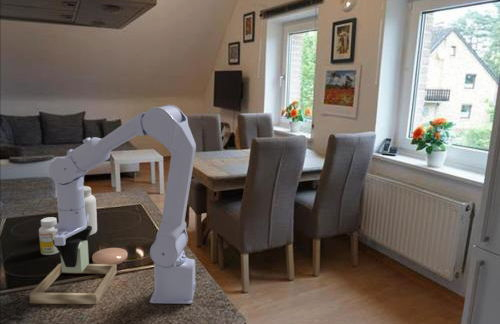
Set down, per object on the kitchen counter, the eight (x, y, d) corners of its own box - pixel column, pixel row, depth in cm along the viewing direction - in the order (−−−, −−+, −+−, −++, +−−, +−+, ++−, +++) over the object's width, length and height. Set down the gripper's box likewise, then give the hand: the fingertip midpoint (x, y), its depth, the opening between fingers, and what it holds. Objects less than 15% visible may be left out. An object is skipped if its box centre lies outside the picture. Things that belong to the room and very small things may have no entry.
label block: (88, 263, 95) (87, 240, 94) (81, 272, 90) (79, 248, 89) (70, 263, 95) (68, 239, 93) (62, 272, 90) (60, 247, 89)
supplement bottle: (56, 245, 115) (54, 214, 113) (65, 251, 112) (62, 219, 110) (37, 251, 111) (34, 219, 109) (45, 257, 108) (42, 224, 106)
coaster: (130, 251, 113) (130, 248, 113) (121, 266, 104) (121, 262, 104) (99, 251, 113) (99, 247, 112) (87, 265, 104) (87, 261, 104)
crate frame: (116, 272, 101) (116, 264, 101) (96, 304, 87) (96, 295, 86) (59, 271, 101) (59, 263, 100) (30, 303, 86) (29, 294, 86)
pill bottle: (93, 237, 122) (90, 191, 119) (66, 237, 121) (63, 191, 118) (100, 228, 130) (98, 184, 127) (76, 228, 129) (73, 184, 126)
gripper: (67, 197, 96) (71, 248, 99) (37, 217, 82) (43, 276, 85) (96, 197, 97) (99, 248, 99) (71, 218, 82) (75, 276, 85)
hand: (75, 261), depth 92 cm, fingers closed on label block, 4 cm apart
